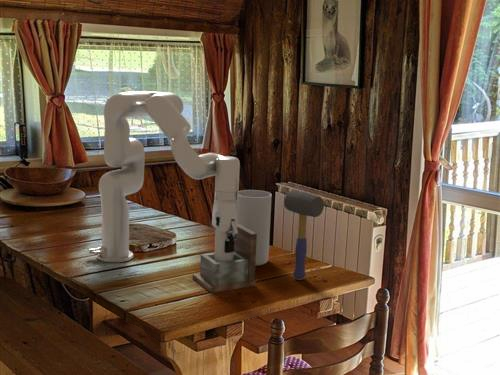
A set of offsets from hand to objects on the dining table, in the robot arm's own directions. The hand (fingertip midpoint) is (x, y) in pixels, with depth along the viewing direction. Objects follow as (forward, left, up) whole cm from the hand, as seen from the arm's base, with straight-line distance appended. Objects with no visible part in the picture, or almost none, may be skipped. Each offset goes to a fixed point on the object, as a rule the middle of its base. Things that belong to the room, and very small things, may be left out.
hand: (224, 248), depth 213 cm
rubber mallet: (+25, -7, -12) cm, 29 cm away
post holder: (0, 0, -11) cm, 11 cm away
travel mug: (0, 0, -9) cm, 9 cm away
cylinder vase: (+19, +16, -12) cm, 27 cm away
